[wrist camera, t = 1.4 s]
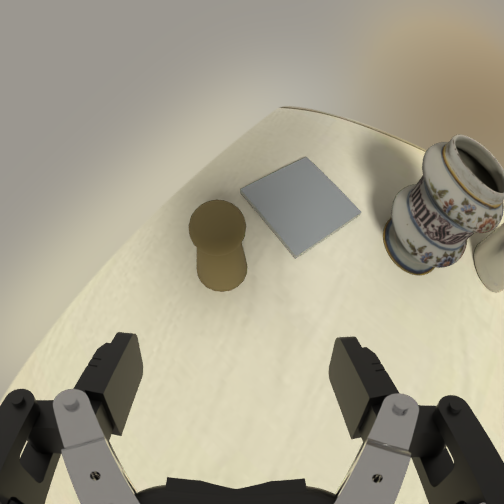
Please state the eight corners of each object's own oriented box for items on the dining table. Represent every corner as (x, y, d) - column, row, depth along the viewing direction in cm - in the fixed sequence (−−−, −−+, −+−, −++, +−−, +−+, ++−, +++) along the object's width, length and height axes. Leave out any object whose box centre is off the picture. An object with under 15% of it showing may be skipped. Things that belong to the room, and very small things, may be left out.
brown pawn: (187, 263, 35) (168, 212, 25) (226, 236, 37) (223, 179, 27) (216, 301, 33) (207, 262, 23) (257, 271, 35) (265, 222, 25)
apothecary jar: (432, 213, 41) (493, 137, 24) (450, 283, 35) (534, 219, 19) (369, 205, 40) (422, 111, 24) (382, 282, 35) (466, 203, 19)
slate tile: (305, 160, 43) (306, 156, 43) (359, 215, 39) (361, 212, 39) (240, 192, 40) (240, 189, 39) (295, 258, 36) (296, 256, 35)
